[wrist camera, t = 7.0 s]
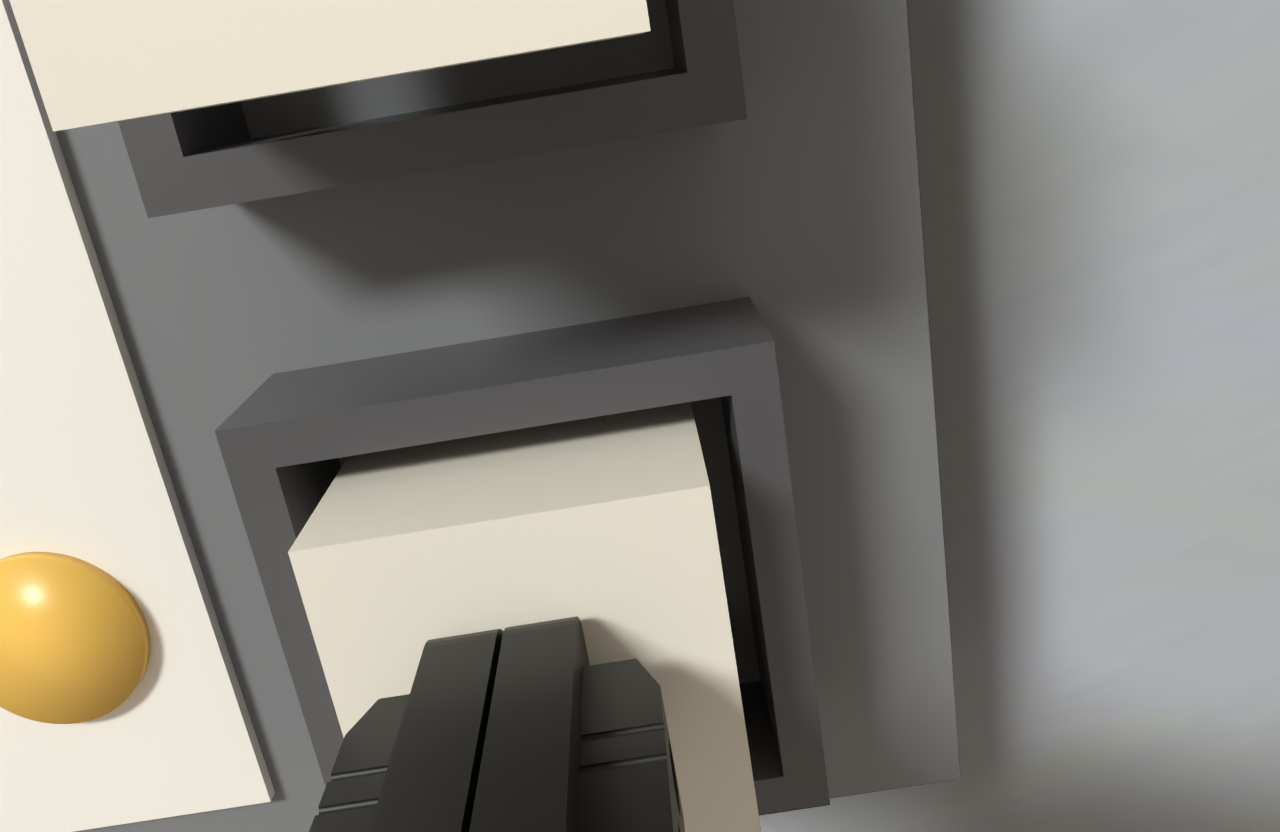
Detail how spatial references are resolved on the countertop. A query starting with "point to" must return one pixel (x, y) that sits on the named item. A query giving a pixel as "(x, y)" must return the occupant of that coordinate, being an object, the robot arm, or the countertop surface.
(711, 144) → the button board
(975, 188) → the countertop surface
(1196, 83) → the countertop surface
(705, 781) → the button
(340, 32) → the button middle
